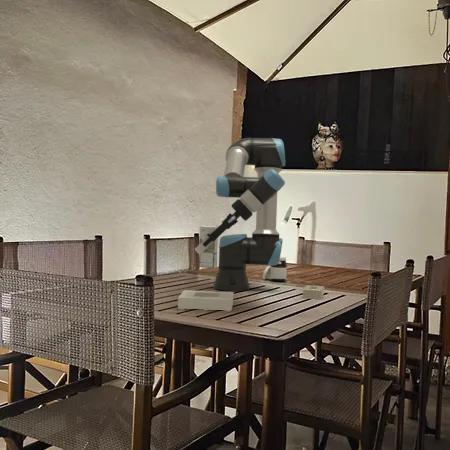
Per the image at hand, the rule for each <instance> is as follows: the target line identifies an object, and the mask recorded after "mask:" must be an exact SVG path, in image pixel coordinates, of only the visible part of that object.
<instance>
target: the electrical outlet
mask: <svg viewBox="0 0 450 450" xmlns="http://www.w3.org/2000/svg"><path fill="white" fill-rule="evenodd" d="M324 293H325V286H324V285H309V284H308V285H305V286H304V287H303V290H302V298H303V299H307V300H321V301H322V298H323V296H324Z"/></svg>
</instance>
